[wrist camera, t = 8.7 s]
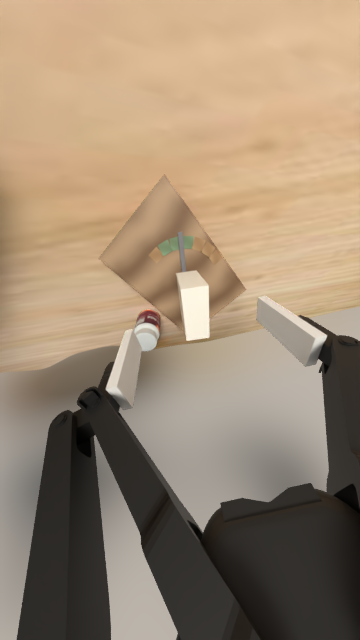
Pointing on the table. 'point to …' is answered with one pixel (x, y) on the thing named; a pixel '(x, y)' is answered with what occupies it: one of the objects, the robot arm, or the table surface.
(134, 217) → the board
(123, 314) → the table surface
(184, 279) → the white boxy piece
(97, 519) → the robot arm
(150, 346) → the pill bottle
